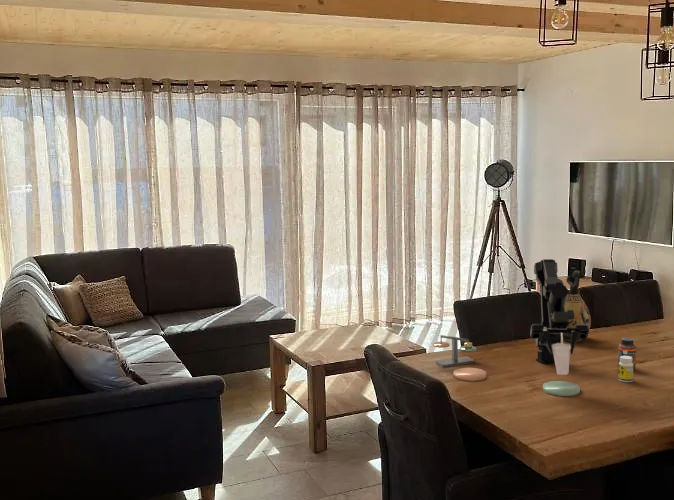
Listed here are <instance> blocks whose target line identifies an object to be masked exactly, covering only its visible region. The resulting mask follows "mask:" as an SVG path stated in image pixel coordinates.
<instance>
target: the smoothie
mask: <svg viewBox="0 0 674 500" xmlns="http://www.w3.org/2000/svg"><path fill="white" fill-rule="evenodd" d="M551 346H552V350H553V355H554V360H555V363H554V364H555V370H556V374H557V375H561V376H566V375H568V374H569V371H570V357H571V352H570V349H571V345H570V343H566V342H565V343H564V341H563V333H561V343H556V344H553V345H551Z"/></svg>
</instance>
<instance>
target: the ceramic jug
mask: <svg viewBox="0 0 674 500" xmlns="http://www.w3.org/2000/svg"><path fill="white" fill-rule="evenodd" d="M581 272H582V271H580V270H574V271H573V272H572V275H568V276H567V277H566V283H567V284H568V285H569V289H568V290H569V294H568V296H567V301H566V304H565V312H567V311H568V310H574V320H569V325H568V326H567V328H575V327H576V324H583V325H587V326H588V327H589V330H590V328H591V325H592V324H591V323H592V319H591V314H590V311H589V310H590V309H589V307H588V306H587V304H586V303H585V301H584V300H583V299H582V296H581V295H580V293H579V287H580V280H581ZM560 335H561V334H560ZM570 338H571V334H563V342H568V343H570ZM582 340H583V339H579V341H576V343H578V342H582Z"/></svg>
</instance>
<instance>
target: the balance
mask: <svg viewBox="0 0 674 500" xmlns="http://www.w3.org/2000/svg"><path fill="white" fill-rule="evenodd" d="M439 337H440V341H435V342H433V343H432V346H433V347H434V348H440V349H441V348H443V349H445V348H448V347H450V345H451V358H446V359H439V360H435V362H434V363H435V364H436V365H438V366H439V367H440V368H441V367H442V368H449V367H455V366H456V367H457V366H462V365H467V364H468V365H469V364H475V361H476V360H475V359H473V358H471V357H469V356H468V355H467V356H459V357H458V355H459V350H460V351H461V352H466V353H469V352H470V353H471V352H475V351H477V347H476V346H473V342H470V339H469V338H463V337H457V336H452V335H451V336H450V335H444V334H440V336H439ZM442 339H448V340H451V344H450V343H449V342H446V341H442ZM458 341H461V342H464V344H463V345H462V346H460V347H458ZM458 348H459V349H458Z"/></svg>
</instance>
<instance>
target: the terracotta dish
mask: <svg viewBox="0 0 674 500" xmlns="http://www.w3.org/2000/svg"><path fill="white" fill-rule="evenodd" d="M487 375H488V374H487V371H486V370H484V369H481V368H476V367H460V368H456V369H455V370H454V371H453V377H454V378H455V379H456V380H460V381H464V382H465V381H466V382H479V381H483V380H485V379H486V378H487Z"/></svg>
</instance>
